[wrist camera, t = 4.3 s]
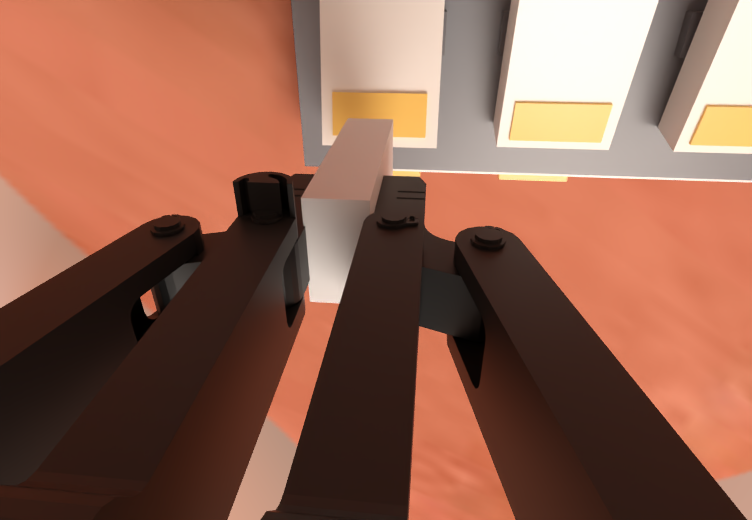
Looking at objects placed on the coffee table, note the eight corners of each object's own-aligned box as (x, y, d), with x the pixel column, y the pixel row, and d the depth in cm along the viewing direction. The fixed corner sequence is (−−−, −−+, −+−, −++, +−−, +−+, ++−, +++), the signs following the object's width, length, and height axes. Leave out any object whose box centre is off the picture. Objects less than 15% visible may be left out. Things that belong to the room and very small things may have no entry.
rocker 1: (328, -75, 19) (316, -95, 17) (447, -77, 18) (450, -97, 16) (331, 140, 21) (321, 145, 19) (436, 143, 21) (436, 148, 19)
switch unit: (308, -129, 22) (273, -155, 17) (840, -143, 20) (966, -175, 15) (325, 144, 29) (303, 181, 24) (727, 156, 27) (791, 198, 22)
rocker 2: (525, -97, 16) (533, -85, 15) (666, -99, 16) (690, -88, 14) (493, 123, 22) (496, 148, 20) (597, 126, 22) (609, 151, 20)
